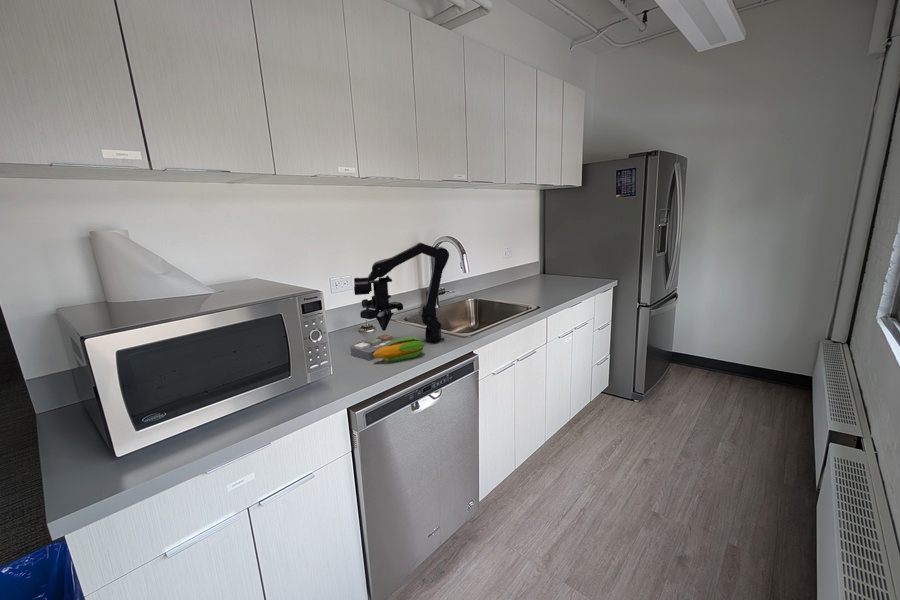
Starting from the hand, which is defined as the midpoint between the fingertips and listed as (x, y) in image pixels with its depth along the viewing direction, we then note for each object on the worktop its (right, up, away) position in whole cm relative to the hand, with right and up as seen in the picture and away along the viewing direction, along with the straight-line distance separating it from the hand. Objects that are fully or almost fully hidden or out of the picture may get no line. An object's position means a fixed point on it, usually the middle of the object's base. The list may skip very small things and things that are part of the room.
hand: (383, 330), depth 164 cm
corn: (+8, -10, -14) cm, 19 cm away
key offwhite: (-7, -8, -8) cm, 13 cm away
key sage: (-3, -7, -3) cm, 8 cm away
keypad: (-2, -8, -4) cm, 9 cm away
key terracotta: (0, -6, +1) cm, 6 cm away
